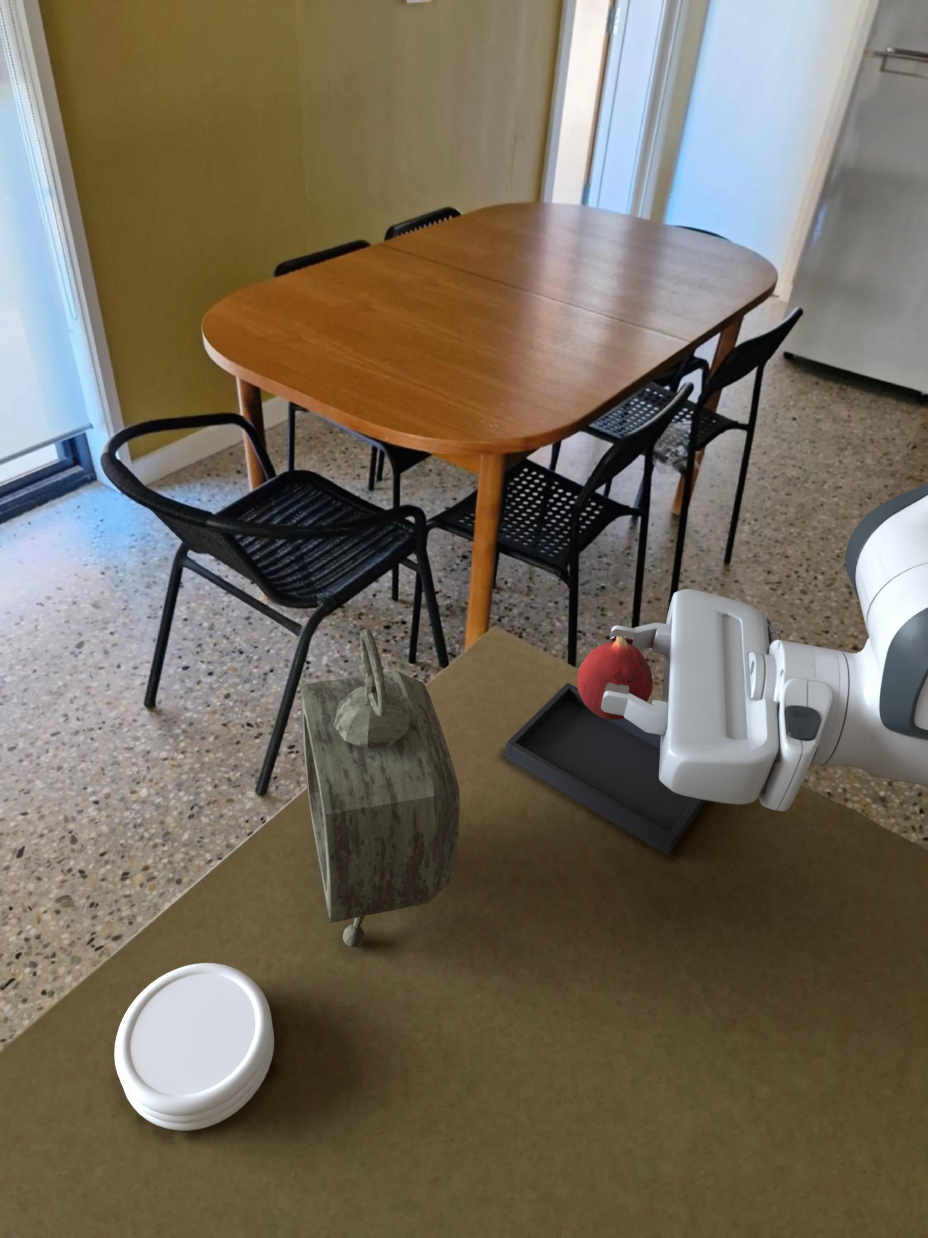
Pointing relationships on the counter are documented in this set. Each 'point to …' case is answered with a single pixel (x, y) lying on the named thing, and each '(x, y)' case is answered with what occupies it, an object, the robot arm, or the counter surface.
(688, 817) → the baking tray
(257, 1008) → the white round flat cylinder
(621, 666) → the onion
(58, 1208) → the counter surface
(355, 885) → the tabletop clock
